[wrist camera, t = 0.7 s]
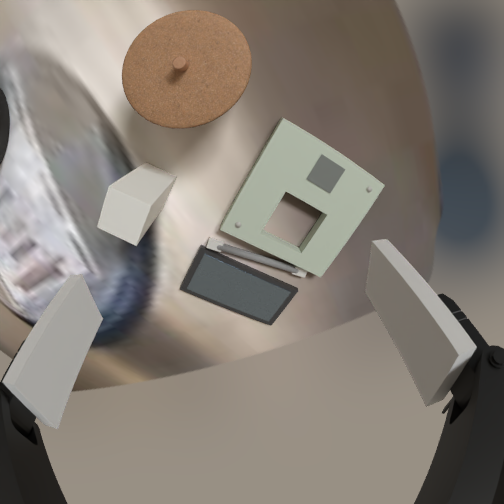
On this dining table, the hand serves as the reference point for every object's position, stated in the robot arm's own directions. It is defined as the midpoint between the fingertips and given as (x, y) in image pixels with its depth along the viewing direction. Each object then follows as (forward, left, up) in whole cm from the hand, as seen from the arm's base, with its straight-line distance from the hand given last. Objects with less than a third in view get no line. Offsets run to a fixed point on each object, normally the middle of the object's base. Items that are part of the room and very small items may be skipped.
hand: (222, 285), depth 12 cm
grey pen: (+7, -8, -21) cm, 23 cm away
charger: (-8, -5, -21) cm, 23 cm away
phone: (+7, -13, -21) cm, 26 cm away
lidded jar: (-9, +8, -21) cm, 24 cm away
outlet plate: (+8, +1, -21) cm, 22 cm away
